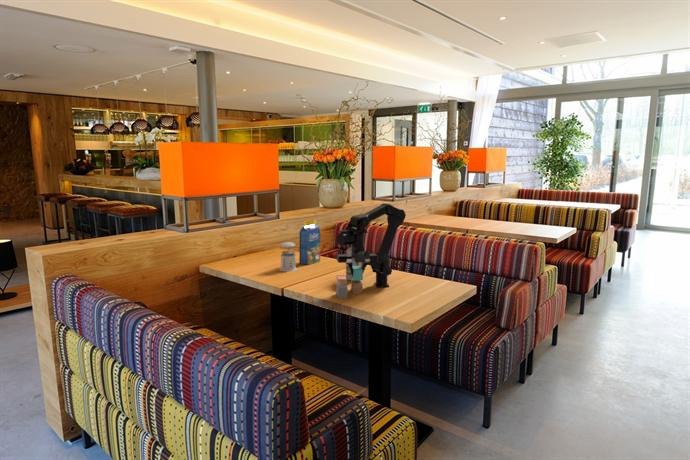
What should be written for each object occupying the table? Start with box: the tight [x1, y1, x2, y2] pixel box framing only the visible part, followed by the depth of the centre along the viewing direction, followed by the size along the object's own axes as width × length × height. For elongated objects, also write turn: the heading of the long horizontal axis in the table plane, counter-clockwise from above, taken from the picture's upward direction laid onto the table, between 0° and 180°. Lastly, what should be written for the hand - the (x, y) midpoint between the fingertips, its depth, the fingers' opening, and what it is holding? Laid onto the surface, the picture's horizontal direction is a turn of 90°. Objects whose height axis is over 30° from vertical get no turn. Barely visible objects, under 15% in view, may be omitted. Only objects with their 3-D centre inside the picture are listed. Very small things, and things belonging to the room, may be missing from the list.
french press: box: [279, 224, 298, 272], centre depth 248 cm, size 10×12×25 cm
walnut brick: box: [350, 279, 363, 295], centre depth 212 cm, size 7×4×5 cm, turn 9°
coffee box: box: [345, 246, 362, 281], centre depth 233 cm, size 9×6×16 cm
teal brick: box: [352, 266, 364, 281], centre depth 211 cm, size 7×4×5 cm, turn 9°
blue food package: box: [299, 219, 321, 266], centre depth 264 cm, size 6×12×25 cm, turn 146°
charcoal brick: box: [335, 283, 349, 300], centre depth 205 cm, size 7×4×5 cm, turn 9°
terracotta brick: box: [335, 274, 348, 287], centre depth 219 cm, size 7×4×5 cm, turn 9°
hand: (357, 275), depth 211 cm, fingers open, 4 cm apart
